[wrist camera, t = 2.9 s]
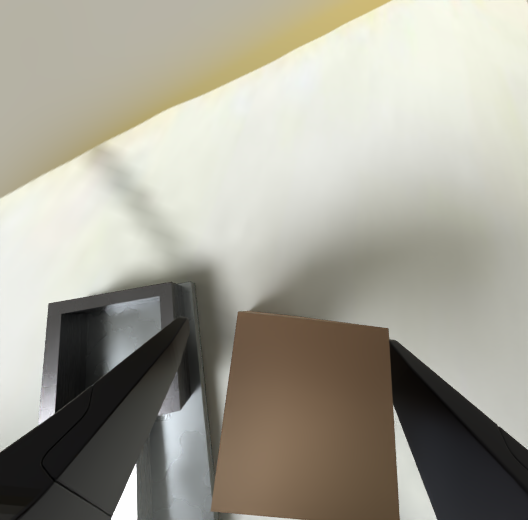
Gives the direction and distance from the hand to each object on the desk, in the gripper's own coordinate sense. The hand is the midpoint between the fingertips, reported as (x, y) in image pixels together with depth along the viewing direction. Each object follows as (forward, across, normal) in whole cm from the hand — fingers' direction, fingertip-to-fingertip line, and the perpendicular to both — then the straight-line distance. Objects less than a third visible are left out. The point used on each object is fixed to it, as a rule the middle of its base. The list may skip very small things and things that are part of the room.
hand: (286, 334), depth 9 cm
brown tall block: (+4, 0, +6) cm, 7 cm away
